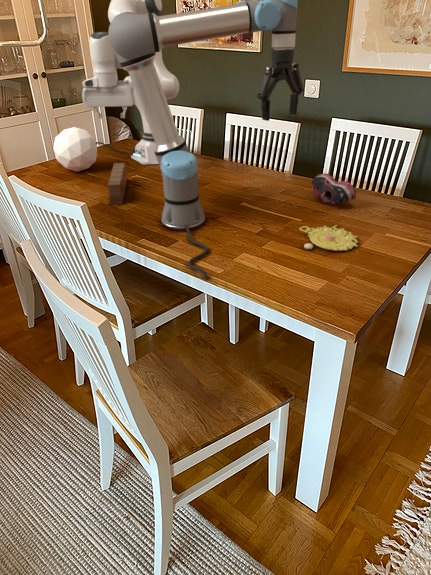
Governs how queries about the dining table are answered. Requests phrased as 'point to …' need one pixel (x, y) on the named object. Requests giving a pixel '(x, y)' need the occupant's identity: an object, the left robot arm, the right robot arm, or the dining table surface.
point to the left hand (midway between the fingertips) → (111, 118)
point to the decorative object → (330, 238)
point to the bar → (117, 183)
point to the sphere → (75, 149)
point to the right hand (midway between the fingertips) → (279, 117)
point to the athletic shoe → (332, 189)
